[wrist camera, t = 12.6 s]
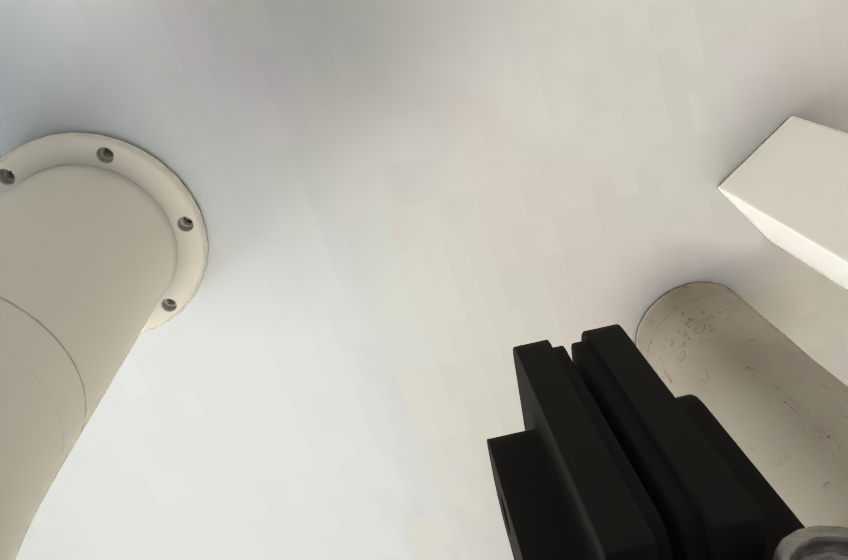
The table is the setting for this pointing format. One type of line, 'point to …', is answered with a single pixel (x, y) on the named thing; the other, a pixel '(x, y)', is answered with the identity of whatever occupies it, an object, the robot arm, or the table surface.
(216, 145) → the table surface
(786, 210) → the milk
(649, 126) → the table surface
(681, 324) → the thermos bottle
